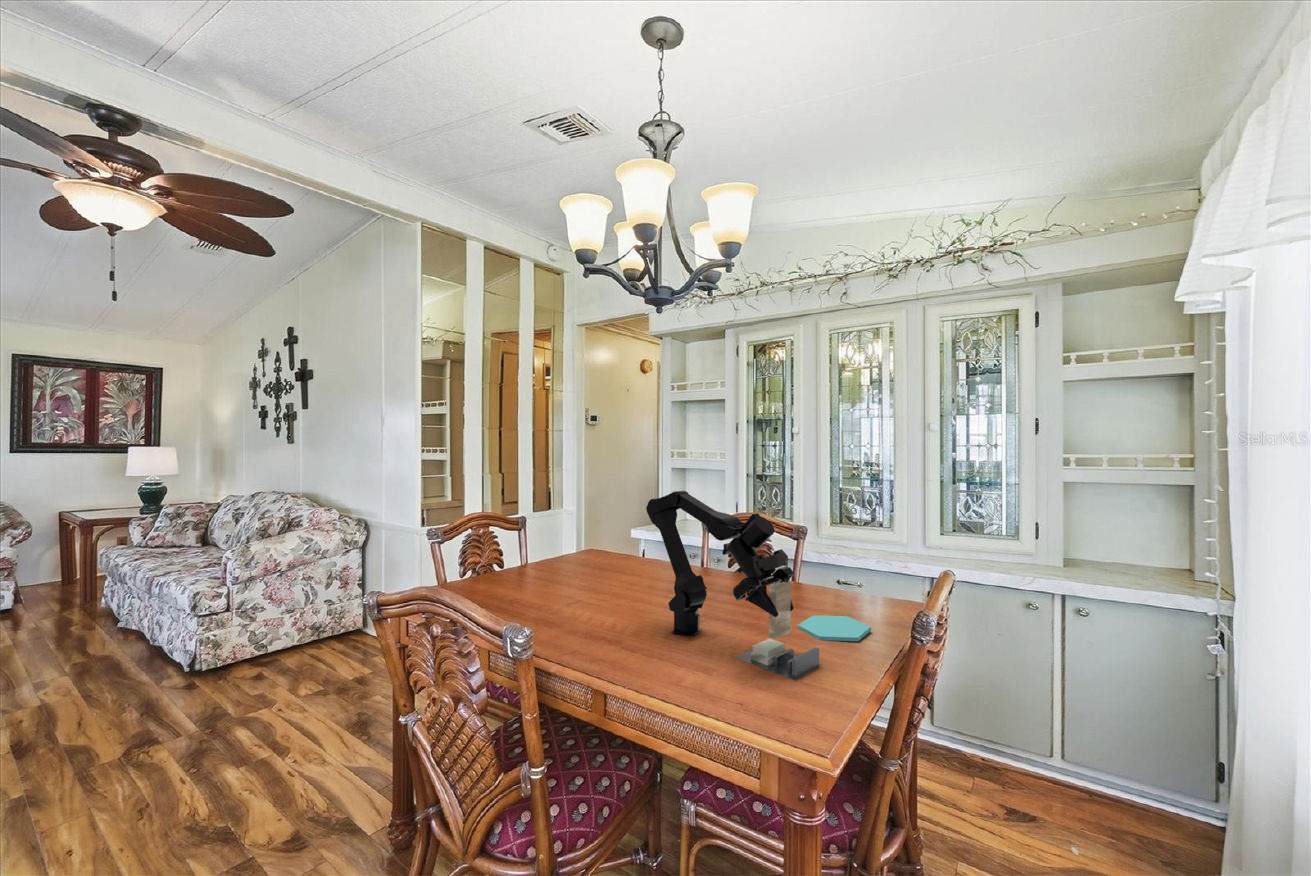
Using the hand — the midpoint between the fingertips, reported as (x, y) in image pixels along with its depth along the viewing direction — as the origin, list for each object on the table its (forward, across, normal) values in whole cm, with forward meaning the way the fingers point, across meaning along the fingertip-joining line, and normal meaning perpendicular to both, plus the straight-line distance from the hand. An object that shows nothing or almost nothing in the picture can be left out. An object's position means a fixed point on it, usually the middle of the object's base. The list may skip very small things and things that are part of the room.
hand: (784, 613), depth 127 cm
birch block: (+3, 0, +5) cm, 6 cm away
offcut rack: (+8, 0, +10) cm, 13 cm away
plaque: (+6, +32, +13) cm, 35 cm away
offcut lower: (+5, 0, +12) cm, 13 cm away
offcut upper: (+4, 0, +11) cm, 12 cm away
